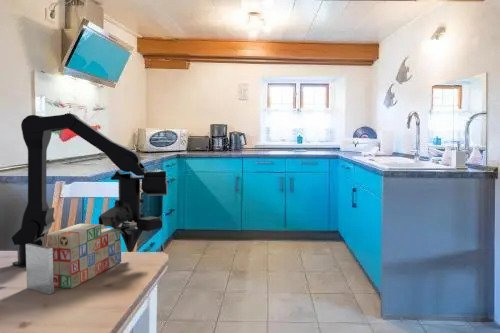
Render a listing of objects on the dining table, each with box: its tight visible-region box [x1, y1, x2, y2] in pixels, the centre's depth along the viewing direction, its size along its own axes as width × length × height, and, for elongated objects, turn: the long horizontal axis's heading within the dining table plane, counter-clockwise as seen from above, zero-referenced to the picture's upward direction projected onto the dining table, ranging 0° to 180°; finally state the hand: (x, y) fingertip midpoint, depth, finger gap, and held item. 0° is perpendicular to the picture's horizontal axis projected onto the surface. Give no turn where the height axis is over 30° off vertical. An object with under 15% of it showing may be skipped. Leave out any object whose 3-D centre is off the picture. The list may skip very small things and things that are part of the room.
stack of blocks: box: [46, 223, 122, 289], centre depth 106 cm, size 21×6×12 cm, turn 166°
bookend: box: [25, 243, 55, 295], centre depth 94 cm, size 8×1×10 cm, turn 61°
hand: (130, 251), depth 118 cm, fingers closed
